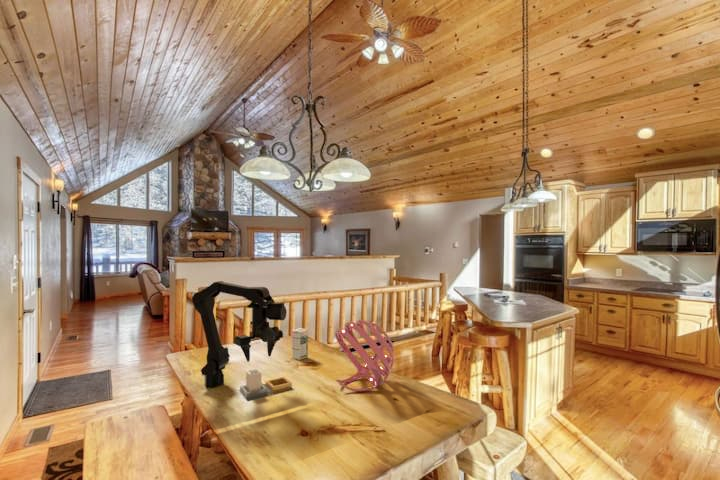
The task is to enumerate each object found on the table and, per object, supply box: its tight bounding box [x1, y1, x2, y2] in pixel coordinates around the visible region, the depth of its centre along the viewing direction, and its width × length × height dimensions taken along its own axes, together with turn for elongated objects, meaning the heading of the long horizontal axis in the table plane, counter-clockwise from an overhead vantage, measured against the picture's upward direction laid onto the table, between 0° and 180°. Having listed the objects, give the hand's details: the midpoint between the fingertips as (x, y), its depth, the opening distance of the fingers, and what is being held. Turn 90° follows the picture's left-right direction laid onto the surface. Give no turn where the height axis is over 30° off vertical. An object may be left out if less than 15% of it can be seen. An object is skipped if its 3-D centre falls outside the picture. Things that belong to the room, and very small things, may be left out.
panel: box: [238, 376, 294, 402], centre depth 135 cm, size 18×12×3 cm, turn 125°
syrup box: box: [291, 327, 309, 361], centre depth 178 cm, size 6×6×14 cm
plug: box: [245, 368, 262, 392], centre depth 132 cm, size 4×4×8 cm
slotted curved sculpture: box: [334, 319, 395, 393], centre depth 142 cm, size 28×28×27 cm
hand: (259, 358), depth 136 cm, fingers open, 9 cm apart
